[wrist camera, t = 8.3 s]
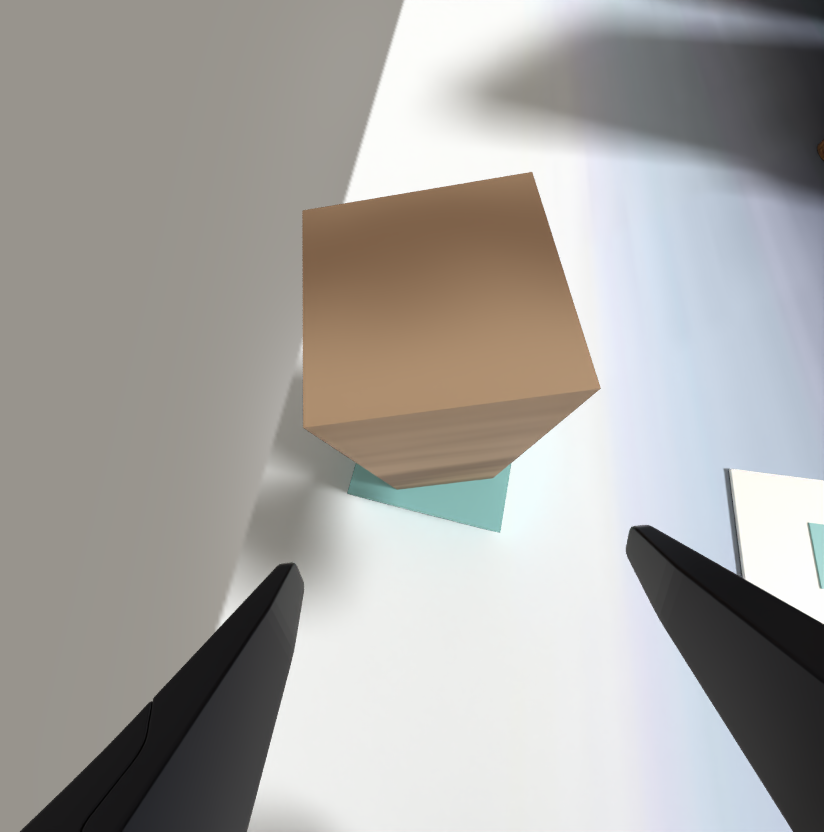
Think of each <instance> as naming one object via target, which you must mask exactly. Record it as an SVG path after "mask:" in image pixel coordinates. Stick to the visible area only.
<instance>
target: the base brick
mask: <svg viewBox="0 0 824 832" xmlns="http://www.w3.org/2000/svg"><path fill="white" fill-rule="evenodd" d="M510 468H511V464H509V465H508V466H507V467H506V468H505V469H503V470H502V471H501V472H500V473H499V474H497V475H496V476H495V477H494V478H491V479H482V480H474V481H466V482H458V483H449V484H441V485H433V486H424V487H416V488H408V489H399V490H397V489H395V488H393V487H392V486H390V485H389V484H387V483H386V482H384V481H383V480H381V479H380V478H378V477H377V476H375V475H374V474H372V473H371V472H369V471H368V470H366V469H365V468H363V467H362V466H360V465H359V464H357V463H356V465H355V469H354V472H353V475H352V479H351V482H350V486H349V489H348V492H347V494H351V495H354V496H358V497H362V498H366V499H369V500H373V501H377V502H381V503H385V504H389V505H393V506H397V507H401V508H405V509H408V510H412V511H416V512H420V513H424V514H428V515H432V516H436V517H440V518H443V519H447V520H451V521H455V522H459V523H463V524H467V525H471V526H475V527H479V528H482V529H486V530H490V531H495V532H499V533H500V530H501V524H502V518H503V511H504V505H505V499H506V493H507V486H508V480H509V474H510Z"/></svg>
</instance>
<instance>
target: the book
mask: <svg viewBox="0 0 824 832" xmlns="http://www.w3.org/2000/svg"><path fill="white" fill-rule="evenodd" d="M817 149H818V153H819V155H820V157H821V158H822V159H823V160H824V139H823V140H822V141H821V142H820V143H819V144H818V147H817Z"/></svg>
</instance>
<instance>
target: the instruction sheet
mask: <svg viewBox="0 0 824 832" xmlns="http://www.w3.org/2000/svg"><path fill="white" fill-rule="evenodd" d="M729 475H730V482H731V490H732V498H733V506H734V513H735V521H736V529H737V537H738V545H739V552H740V560H741V568H742V576H743V578H744V579H745V580H747V581H749V582H751V583H752V584H754V585H756V586H758V587H759V588H761V589H763V590H765V591H766V592H768V593H770V594H772V595H773V596H775V597H777V598H779V599H781V600H782V601H784V602H786V603H788V604H789V605H791V606H793V607H795V608H796V609H798V610H800V611H802V612H803V613H805V614H807V615H809V616H810V617H812V618H814V619H816V620H817V621H819V622H821V623H823V624H824V481H823V480H815V479H807V478H799V477H791V476H784V475H776V474H768V473H760V472H752V471H744V470H737V469H729Z"/></svg>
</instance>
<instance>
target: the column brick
mask: <svg viewBox="0 0 824 832" xmlns="http://www.w3.org/2000/svg"><path fill="white" fill-rule="evenodd" d="M599 389H601V388H600V385H599V382H598V379H597V375H596V372H595V369H594V366H593V363H592V360H591V356H590V353H589V350H588V347H587V344H586V341H585V337H584V334H583V331H582V328H581V325H580V322H579V319H578V315H577V312H576V309H575V306H574V303H573V300H572V296H571V293H570V290H569V287H568V284H567V281H566V277H565V274H564V271H563V268H562V265H561V262H560V258H559V255H558V252H557V249H556V246H555V243H554V240H553V236H552V233H551V230H550V227H549V224H548V221H547V217H546V214H545V211H544V208H543V205H542V202H541V198H540V195H539V192H538V189H537V186H536V183H535V180H534V176H533V173H532V172H529V173H523V174H517V175H511V176H505V177H499V178H493V179H487V180H481V181H475V182H469V183H464V184H458V185H452V186H446V187H440V188H434V189H428V190H422V191H416V192H410V193H404V194H398V195H392V196H386V197H380V198H374V199H368V200H362V201H357V202H351V203H345V204H339V205H333V206H327V207H321V208H315V209H309V210H303V428H304V429H306V430H307V431H309V432H310V433H312V434H313V435H315V436H316V437H318V438H319V439H321V440H322V441H324V442H325V443H327V444H328V445H330V446H331V447H333V448H334V449H336V450H338V451H339V452H341V453H342V454H344V455H345V456H347V457H348V458H350V459H351V460H353V461H354V462H356V463H357V464H359V465H360V466H362V467H363V468H365V469H366V470H368V471H369V472H371V473H372V474H374V475H375V476H377V477H378V478H380V479H381V480H383V481H384V482H386V483H387V484H389V485H390V486H392V487H393V488H395V489H397V490H399V489H408V488H416V487H424V486H433V485H441V484H449V483H458V482H466V481H474V480H482V479H491V478H494V477H495V476H496V475H497V474H499V473H500V472H501V471H502V470H503V469H505V468H506V467H507V466H508V465H509V464H511V463H512V462H513V461H514V460H515V459H517V458H518V457H519V456H520V455H521V454H523V453H524V452H525V451H526V450H527V449H529V448H530V447H531V446H532V445H533V444H535V443H536V442H537V441H538V440H539V439H541V438H542V437H543V436H544V435H545V434H547V433H548V432H549V431H550V430H551V429H553V428H554V427H555V426H556V425H557V424H559V423H560V422H561V421H562V420H563V419H565V418H566V417H567V416H568V415H569V414H571V413H572V412H573V411H574V410H575V409H577V408H578V407H579V406H580V405H581V404H583V403H584V402H585V401H586V400H587V399H589V398H590V397H591V396H592V395H593V394H595V393H596V392H597V391H598V390H599Z"/></svg>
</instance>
